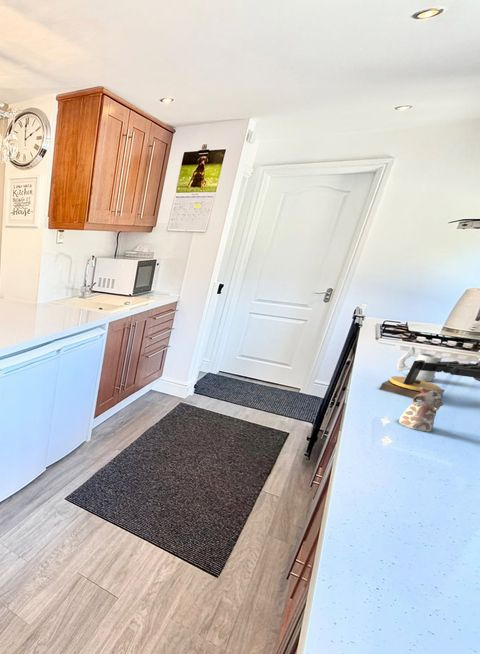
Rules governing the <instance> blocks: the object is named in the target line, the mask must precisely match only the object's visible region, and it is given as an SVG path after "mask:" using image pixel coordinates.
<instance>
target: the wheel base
mask: <svg viewBox="0 0 480 654" xmlns="http://www.w3.org/2000/svg"><path fill="white" fill-rule="evenodd" d="M379 390H380V391H385V392H388V393H392V394H396V395H399V396H402V397H403V396H404V397H407V398H410V399H414V397H415V396H416V395H418V394H421V392H420V391H416V390H412V389H408V388H404V387H401V386H398V385H396V384H393V383H392V382H390V379H388V380H386V381H384V382H382V383H381V385H380V387H379ZM445 392H446V389H443V388H441V389H440V391H439V392H438V393H439V395H440V396H441V397H443V395H444V393H445ZM416 400H417V401H422V398H421V397H419V398H417V399H416Z"/></svg>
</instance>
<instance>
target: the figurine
mask: <svg viewBox="0 0 480 654" xmlns="http://www.w3.org/2000/svg"><path fill="white" fill-rule="evenodd" d="M420 392H421V394H418V395H416V396H415V397H414V398H412V403H411V404H410V405H409V406H408V407H407V408H406V409H405V410H404V412H403V413H402V414H401V416H400V417H399V421H398V422H399V424H400V425H402V426H404V427H406V428H409V429H412V430H416V431H421V432H427V433H428V432H431V431H432V429H433V427H434V424H435V419H436V415H437V412H438V411H439V410H440V408H441V407H442V406H444V403H443V402H442V399H443V396H440V395H439V393H438V392H437V391H434V390H431V391H429V392H427V391H426V390H425V388H420ZM419 397H421V398H422V400H418V399H417V398H419Z"/></svg>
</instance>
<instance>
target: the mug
mask: <svg viewBox="0 0 480 654" xmlns="http://www.w3.org/2000/svg"><path fill="white" fill-rule="evenodd" d="M410 357H415V358H416V359H414V361H416V360H423V361H425V362H428V363H436V362H437V361H439V362H442V359H443V357H442V356H440V355H436V354H432V353H424V352H421V353H416V349H415V347H414V346H410V348H409V349H408V351H407V352H406V353H405V354H403V355H402V356H401V357H400V358H398V362H397V364H396V368H397V371H398V372H401V371H404V370H407V374H408V373H409V371H410V369H411V367H412V365H406V363H405V362H406V360H407V359H408V358H410ZM435 374H436V372H435V371H422V370H420V372H419V374H418V376H417V378H416V379H418V380H422V381H426V382H432V381H433V379H435V378H436V375H435Z"/></svg>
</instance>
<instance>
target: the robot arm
mask: <svg viewBox="0 0 480 654" xmlns="http://www.w3.org/2000/svg"><path fill="white" fill-rule="evenodd" d="M418 369H419V370H422V371H435V373H442V372H443V373H445V374H449V375H452V376H459V377H468V378H473V379H474V380H476V381H477V382H480V361H478V362H476V363H472V362H469V363H463V362H460V361H458V360H453V361H440V362H439V361H437V362H436V363H428V362H421V364H420V366H419V368H418Z"/></svg>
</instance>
